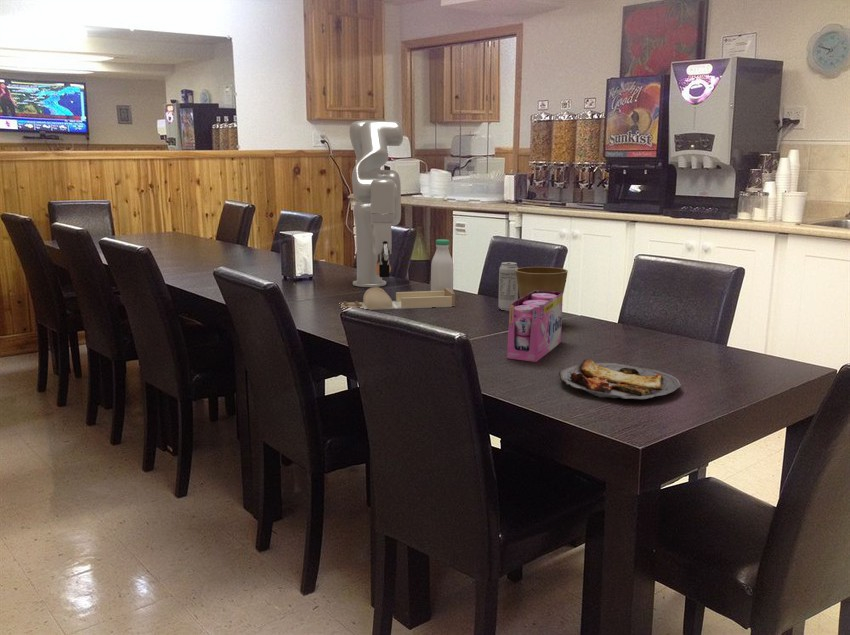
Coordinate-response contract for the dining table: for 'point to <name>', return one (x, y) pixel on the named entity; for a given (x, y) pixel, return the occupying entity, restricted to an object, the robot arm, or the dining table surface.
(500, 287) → the energy drink can
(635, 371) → the food plate
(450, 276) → the milk bottle
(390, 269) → the ball
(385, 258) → the robot arm
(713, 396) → the dining table surface
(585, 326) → the dining table surface
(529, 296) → the gum box
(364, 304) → the lane
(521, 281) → the plant pot
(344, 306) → the tee
